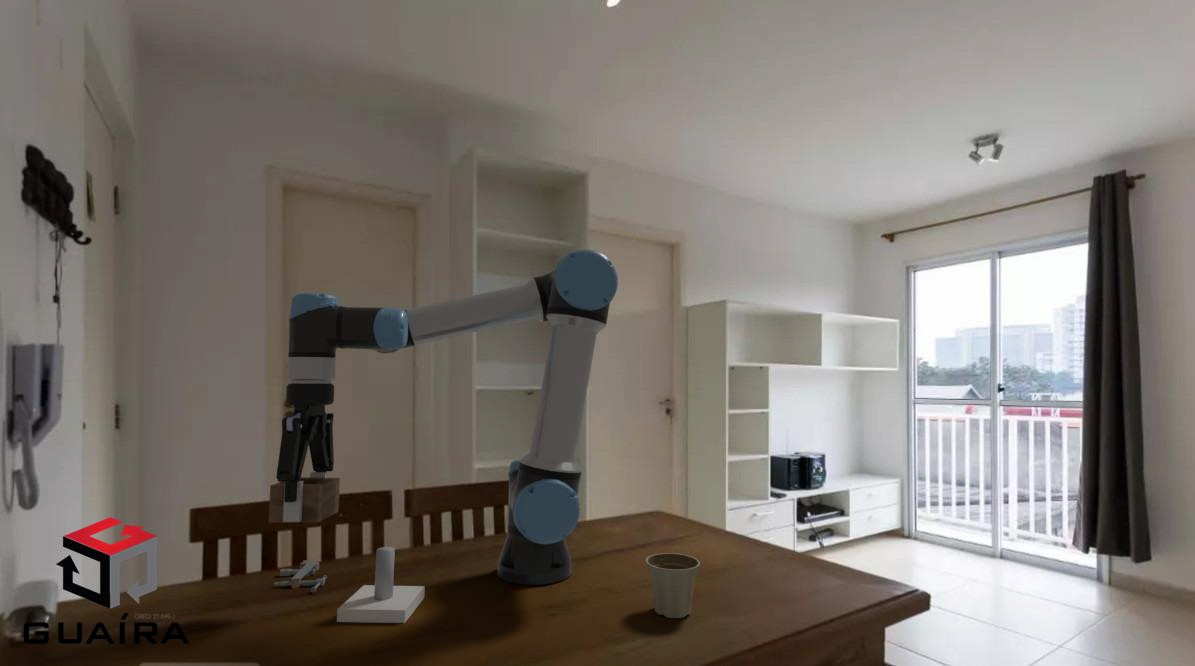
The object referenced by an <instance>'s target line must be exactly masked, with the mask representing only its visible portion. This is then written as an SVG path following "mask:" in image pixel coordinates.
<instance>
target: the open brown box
mask: <svg viewBox="0 0 1195 666" xmlns="http://www.w3.org/2000/svg"><path fill="white" fill-rule="evenodd" d="M340 480H341V477H327V478H315V477H310V476H309V477H307V476H304V477H303V476H301V478H300V481H303V499H302V521H300V522H283V506H284V485H285V482H276V483H274V484H271V485H270V487H269V488H270V489H269V490H270V491H269V505H268V506H269V507H268V523H276V524H278V523H282V524H283V523H286V524H287V523H289V524H290V523H291V524H292V523H293V524H294V523H295V524H296V523H297V524H300V523H302V524H318V523H320V522H322V521H324V520H325V519H328V518H330V517H331V516H333V515H335V514H337V513H339V503H340V483H341V482H340Z"/></svg>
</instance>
